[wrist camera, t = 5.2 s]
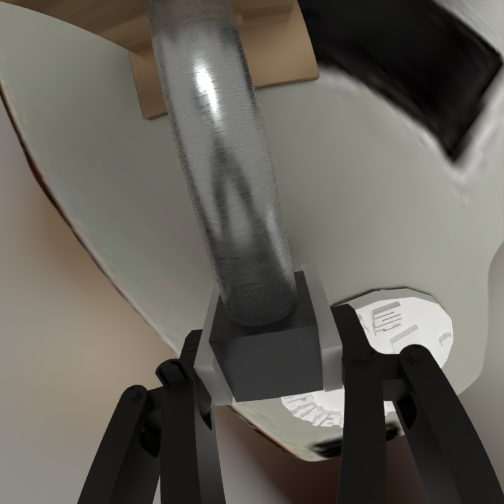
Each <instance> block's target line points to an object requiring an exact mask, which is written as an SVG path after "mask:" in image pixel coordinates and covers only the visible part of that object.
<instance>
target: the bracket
mask: <svg viewBox="0 0 504 504" xmlns="http://www.w3.org/2000/svg"><path fill="white" fill-rule="evenodd" d="M0 1H2V2H6V3H10V4H13V5H17V6H21V7H24V8H27V9H31V10H34V11H37V12H40V13H43V14H46V15H49V16H52V17H54V18H57V19H60V20H63V21H65V22H68V23H70V24H73V25H75V26H78V27H80V28H82V29H85V30H87V31H89V32H92V33H94V34H96V35H98V36H101V37H103V38H105V39H107V40H109V41H111V42H113V43H116V44H118V45H120V46H122V47H124V48H126V49H128V50H129V55H130V60H131V65H132V70H133V75H134V80H135V84H136V89H137V93H138V98H139V102H140V106H141V111H142V115H143V119H152V118H155V117H158V116H161V115H163V114H166V113H168V112H167V108H166V103H165V99H164V95H163V91H162V87H161V82H160V78H159V73H158V69H157V64H156V60H155V55H154V50H153V46H152V41H151V36H150V31H149V26H148V21H147V15H146V10H145V4H144V0H0ZM230 1H231V4H232V7H233V11H234V14H235V18H236V21H237V25H238V28H239V32H240V35H241V39H242V43H243V46H244V50H245V54H246V58H247V61H248V65H249V69H250V73H251V77H252V81H253V85H254V89H259V88H264V87H269V86H275V85H281V84H287V83H293V82H300V81H308V80H316V79H318V78H319V77H320V74H319V70H318V66H317V62H316V59H315V55H314V52H313V48H312V45H311V41H310V38H309V35H308V31H307V28H306V25H305V22H304V19H303V16H302V13H301V10H300V7H299V4H298V2H297V0H230Z"/></svg>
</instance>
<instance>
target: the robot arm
mask: <svg viewBox="0 0 504 504" xmlns="http://www.w3.org/2000/svg"><path fill="white" fill-rule="evenodd" d="M300 266H301V271H304V275H305V279H306V282H307V286H308V289H309V293H310V297H311V301H312V304H313V308H314V312H315V316H316V320H317V324H318V332H319V342H320V352H321V362H322V373H323V383H324V389H325V392H329V391H333V390H338V389H343V386H344V390H345V392H344V424H343V442H342V456H341V469H340V478H339V487H338V496H337V503H336V504H385V503H386V474H387V472H386V471H387V469H386V468H387V464H386V463H387V457H386V426H385V411H384V401H392V403H393V406H394V408H395V410H396V413H397V415H398V418H399V420H400V423H401V426H402V428H403V431H404V433H405V436H406V439H407V441H408V444H409V446H410V449H411V452H412V454H413V458H414V461H415V463H416V466H417V469H418V472H419V475H420V478H421V481H422V484H423V487H424V490H425V494H426V497H427V500H428V503H429V504H504V494H503V492H502V489H501V487H500V484H499V481H498V479H497V476H496V474H495V471H494V469H493V467H492V464H491V462H490V460H489V458H488V455H487V453H486V451H485V449H484V447H483V445H482V443H481V440H480V439H479V437H478V435H477V432H476V430H475V429H474V427H473V425H472V423H471V421H470V419H469V417H468V415H467V413H466V411H465V409H464V408H463V406H462V404H461V402H460V400H459V399H458V397H457V395H456V393H455V392H454V390H453V388H452V386H451V385H450V383H449V381H448V380H447V378H446V376H445V375H444V373H443V371H442V370H441V368H440V366H439V365H438V363H437V362H436V360H435V358H434V357H433V355H432V354H431V352H430V351H429V350H428V349H427V348H426V347H425V346H423V345H420V344H411V345H408V346H406V347H404V348H403V349H402V350H401V351H400V354H383V353H380V352H378V351H376V350H375V349H374V348H373V347H371V345H370V343H369V341H368V339H367V336H366V334H365V332H364V329H363V327H362V325H361V323H360V320H359V318H358V316H357V313H356V311H355V309H354V308H353V307H351V306H350V305H349V304H348V303H347V304H343V305H338V306H333V307H330V306H329V303H328V300H327V297H326V295H325V292H324V289H323V286H322V283H321V280H320V278H319V275H318V272H317V269H316V267H315V264H314V262H311V263H306V264H301V265H300ZM219 293H220V291H219V288H218V285H217V282H215V285H214V289H213V293H212V297H211V300H210V304H209V308H208V312H207V315H206V319H205V323H204V327H203V329H200V330H192V331H191V332H190V333H189V334H188V336H187V337H186V339H185V342H184V347H183V348H182V353H181V355H180V358H179V359H169V360H166V361H165V362H163V363H161V364H160V365H159V366H158V367H157V369H156V372H155V373H156V375H157V377H158V378H159V380H160V381H161V383H162V384H163V386H162V387H159V388H156V389H152V390H148V391H147V389H146V388H145V387H144V386H142V385H133V386H131V387H129V388H127V389H126V390H125V391H124V392H123V394H122V395H121V398H120V400H119V402H118V404H117V407H116V409H115V411H114V413H113V415H112V418H111V420H110V422H109V425H108V427H107V429H106V432H105V434H104V437H103V439H102V441H101V443H100V446H99V448H98V451H97V453H96V456H95V458H94V461H93V463H92V466H91V468H90V471H89V473H88V476H87V479H86V481H85V484H84V486H83V489H82V492H81V495H80V497H79V500H78V503H77V504H152V503H153V499H154V495H155V491H156V488H157V484H158V480H159V476H160V493H161V504H226V502H225V495H224V489H223V483H222V476H221V469H220V462H219V455H218V447H217V439H216V431H215V423H214V414H213V411H212V409H211V408H210V405H211V399H212V401H213V403H214V404H215V406H221V405H232V398H233V394H232V392H231V390H230V388H229V386H228V383H227V381H226V379H225V377H224V375H223V373H222V370H221V368H220V366H219V364H218V362H217V359H216V357H215V355H214V353H213V351H212V348H211V346H210V344H209V337H210V332H211V328H212V324H213V319H214V315H215V310H216V306H217V302H218V297H219Z"/></svg>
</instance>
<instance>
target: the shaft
mask: <svg viewBox="0 0 504 504" xmlns="http://www.w3.org/2000/svg"><path fill="white" fill-rule="evenodd" d="M144 4H145V10H146V15H147V21H148V26H149V31H150V36H151V41H152V46H153V50H154V55H155V60H156V64H157V69H158V73H159V78H160V82H161V87H162V91H163V95H164V99H165V103H166V108H167V112H168V116H169V120H170V124H171V128H172V132H173V135H174V139H175V143H176V147H177V151H178V155H179V158H180V162H181V166H182V169H183V173H184V176H185V180H186V184H187V187H188V191H189V194H190V198H191V201H192V205H193V208H194V211H195V215H196V218H197V221H198V225H199V228H200V231H201V235H202V238H203V241H204V244H205V248H206V251H207V254H208V257H209V260H210V264H211V267H212V270H213V273H214V276H215V279H216V282H217V285H218V288H219V291H220V293H219V297H218V302H217V306H216V310H215V315H214V319H213V324H212V328H211V332H210V337H209V344H210V346H211V348H212V351H213V353H214V355H215V357H216V359H217V362H218V364H219V366H220V368H221V370H222V373H223V375H224V377H225V379H226V381H227V383H228V386H229V388H230V390H231V392H232V394H233V396H234V398H235V400H236V402H243V401H253V400H263V399H271V398H279V397H286V396H292V395H299V394H305V393H310V392H316V391H321V390H324V383H323V373H322V362H321V352H320V342H319V332H318V324H317V320H316V316H315V312H314V308H313V304H312V301H311V297H310V293H309V289H308V286H307V282H306V279H305V275H304V271H299V272H293V266H292V261H291V255H290V250H289V245H288V239H287V234H286V229H285V224H284V219H283V214H282V209H281V204H280V199H279V194H278V189H277V184H276V180H275V175H274V170H273V166H272V161H271V157H270V152H269V148H268V143H267V139H266V134H265V130H264V126H263V122H262V117H261V113H260V109H259V105H258V101H257V97H256V93H255V89H254V85H253V81H252V77H251V73H250V69H249V65H248V61H247V58H246V54H245V50H244V46H243V43H242V39H241V35H240V32H239V28H238V25H237V21H236V18H235V14H234V11H233V7H232V4H231V1H230V0H144Z"/></svg>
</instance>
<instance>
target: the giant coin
mask: <svg viewBox="0 0 504 504" xmlns="http://www.w3.org/2000/svg"><path fill="white" fill-rule="evenodd" d="M347 303H348V304H349V305H350V306H351V307H353V308H354V309H355V311H356V313H357V316H358V318H359V320H360V323H361V325H362V327H363V329H364V332H365V334H366V336H367V339H368V341H369V343H370V345H371V347H373V348H374V349H375V350H376V351H378V352H380V353H383V354H400V351H401V350H402V349H403V348H404V347H406V346H408V345H411V344H420V345H423V346H425V347H426V348H427V349H428V350H429V351H430V352H431V354H432V355H433V357H434V358H435V360H436V362H437V363H438V365H439V366H440V368H442V366H443V365H444V363H445V362H446V360H447V358H448V355H449V352H450V349H451V346H452V342H453V329H452V321H451V318H450V317H449V316H448V315H447V313H446V312H445V311H444V310H443V309H442V307H441V306H440V305H439V304H438V303H437V301H436V300H435V299H434V298H433V297H432V296H430V295H427V294H424V293H420V292H417V291H414V290H411V289H408V288H406V289H396V290H384V289H380V291H374V292H371V293H369V294H366V295H363V296H361V297H358V298H356V299H353V300H350V301H348V302H345V303H342V304H339V305H343V304H347ZM336 306H338V305H336ZM344 392H345V390H344V386H343V389H338V390H333V391H329V392H325V389H324V390H321V391H316V392H310V393H305V394H299V395H292V396H286V397H281V399H282V403H283V405H284V406H285V407H286V408H288V409H289V410H290V411H291V412H292V415H293V416H295V417H299V418H300V419H303V420H307V421H310V422H312V426H318V425H319V424H320V426H329V427H331V426H332V425H340V427H342V428H343V424H344ZM384 411H385V416H386V415H387V413H388V412H391V411H394V412H395V411H396V410H395V408H394V406H393V403H392V401H384Z"/></svg>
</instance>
